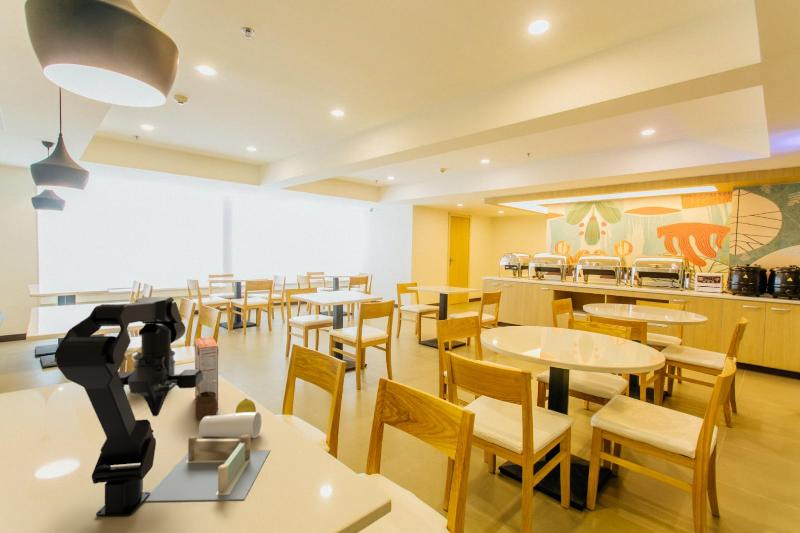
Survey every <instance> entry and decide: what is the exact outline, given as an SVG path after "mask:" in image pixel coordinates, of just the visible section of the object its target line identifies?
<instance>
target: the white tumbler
mask: <svg viewBox="0 0 800 533" xmlns="http://www.w3.org/2000/svg"><path fill="white" fill-rule="evenodd" d="M262 421H263V420H262V415H261V413H260V412H259V411H256V412H241V413H236V412H235V413H233V412H232V413H227V414H226V413H225V414H224V413H223V414H218V415H217V414H216V415H214V416H205V417H203V418H202V420H200V422H199V425H198V433H199V436H200V437H203V438H221V439H240V436H242V435H244V434H249V435H250V439H256V438H258V436H259V434H260V433H261V428H262Z"/></svg>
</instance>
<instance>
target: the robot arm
mask: <svg viewBox="0 0 800 533" xmlns="http://www.w3.org/2000/svg"><path fill="white" fill-rule="evenodd" d="M182 320H183V319H182V317H181V314H180V310H179V307H178V304H177V302H176V301H175V299H174V298H173V297H171V296H142V297H139V298H138V299H136V300H135V301H134V302H132V303H131V302H129V303H119V304H118V303H117V304H116V303H114V304H109V303H108V304H107V303H106V304H105V303H103V304H99V305H96V306H95V307H94V308H93V310H92V311H91V313H90V314H89V315H88V316H87V317H85V319H83V320H81V321H80V322H79V323H77V324H75V325H74V326H72V327H71V328H70V329H69V330H68V331H67V332H66V334H65V336H64V337H63V339H62V340H61V342H60V344H59V345H58V346H57V348H56V349H55V353H54V361H55V363H56V366H57V368H58V370H59V371H60V373H61V374H62V375H63V376H64V377H65V379H66V380H69V381H70V382H73V383H75V384H76V385H79V386H81V387H83V388H84V390H85V393H86V394H87V397H88V400H89V401H90V404H91V406H92V408H93V410H94V412H95V415H96V417H97V420H98V422H99V423H100V427H101V428H102V431H103V432H104V436H105V438H106V439H105V441H104V442H103V444H102V446H101V448H100V453H99V457H98V459H97V461H96V464H95V467H94V468H93V472H92V475H91V480H92V484H93V485H96V484H100V483H101V484H102V483H104V505H102V507H101V508H100V509H99V510H98V511H97V512H96V513H95V514H96V515H95V516H96V517H122V516H123V517H128V516H132V515H133V514H134V513H135V511H137V510H138V508H139V507H140V506H141V505H142V504H143V503H145V502H144V501H145V500H146V499H147V497H148V496H149V495H150V493H151V491H143V489H144V478H145V477H146V476H147V475H148V474H149V472H150V471H151V470H152V468H153V466H154V460H155V459H154V458H155V451H156V446H157V445H156V444H157V439H156V438H155V437H154V434H153V433H154V430H153V429H152V426H151V422H150V421H149V420H148V419H136V417H135V414H134V411H133V409H132V407H131V404H130V401H129V399H128V396H127V392H126V390H125V386H128V388H129V392H130V393H131V394H135V395H136V394H138V395H140V396H141V397H143V399H144V401H145V402H146V404H147V406H148V408H149V410H150V413H151V415H152V417H158V416H159V414H160V412H161V411H162V407H163V405H164V403H165V400H166V398H167V396H168V395H169V394H168V393H170V392H171V390H173V389H174V388H175V387H176V386H177V387H178V388H179V389H193V388H194V389H195V387H196V386H197V385H198V384H199V383H200V382H201V381H202V380H203V373H202V371H201V370H200V369H195V368H193V369H184V370H183V371H182V372H181V373H179V374H175V375H170V373H171V372H172V368H170V361H171V356H172V351H173V350H172V349H171V346H172V345H171V344H172V343H174V342H176V341H177V340H179V339H181V338H182V337H183V336H184V335H185V333H186V325H185V324H184V323H183V321H182ZM138 322H141V323H142V324H144V326H142V328H140V329H139V331H138V336H141V346H142V349H141V351H142V352H141V357H140V358H139V361H138V366H137V369H135V370H134V369H133V371H119V369H120V368H121V366H122V364H123V363H124V360H125V358H126V357H125V354H126V352H127V349H128V348H129V347H130V344H131V341H132V339H131V337H130V334H129V330H128V327H129V325H130V324H134V323H138ZM101 327H120V330H119V331H118V334H117V335H116V336H113V335H111V336H110V335H105V336H96V335H95V336H94V334H95V333H97V332H98V331H99V330H100V329H101ZM92 335H93V336H92ZM171 350H172V351H171ZM158 385H159V387H158Z"/></svg>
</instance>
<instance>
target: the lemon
mask: <svg viewBox="0 0 800 533" xmlns="http://www.w3.org/2000/svg"><path fill="white" fill-rule="evenodd" d="M241 412H257V410H256V405H255V402H254V401H252V400H251V399H249V398H244V399H243V400H241V401H239V403H238V404H237V406H236V408H235V413H241Z"/></svg>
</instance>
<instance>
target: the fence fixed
mask: <svg viewBox="0 0 800 533" xmlns="http://www.w3.org/2000/svg"><path fill="white" fill-rule="evenodd" d="M187 443H188V445H187V446H188V447H187V449H188V450H187V452H188V461H203V460H227V459H228V458H229V457H230V455H231V454H232V453H233V451H234V450H235V449H236V447H237V446H238V445H239V444H240V443H245V461H247V460H249V459H250V450H251V438H250V435H249V434H244V435H242V436H240V439H236V438H198V436H197V435H191V436H189V437H188V442H187Z"/></svg>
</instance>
